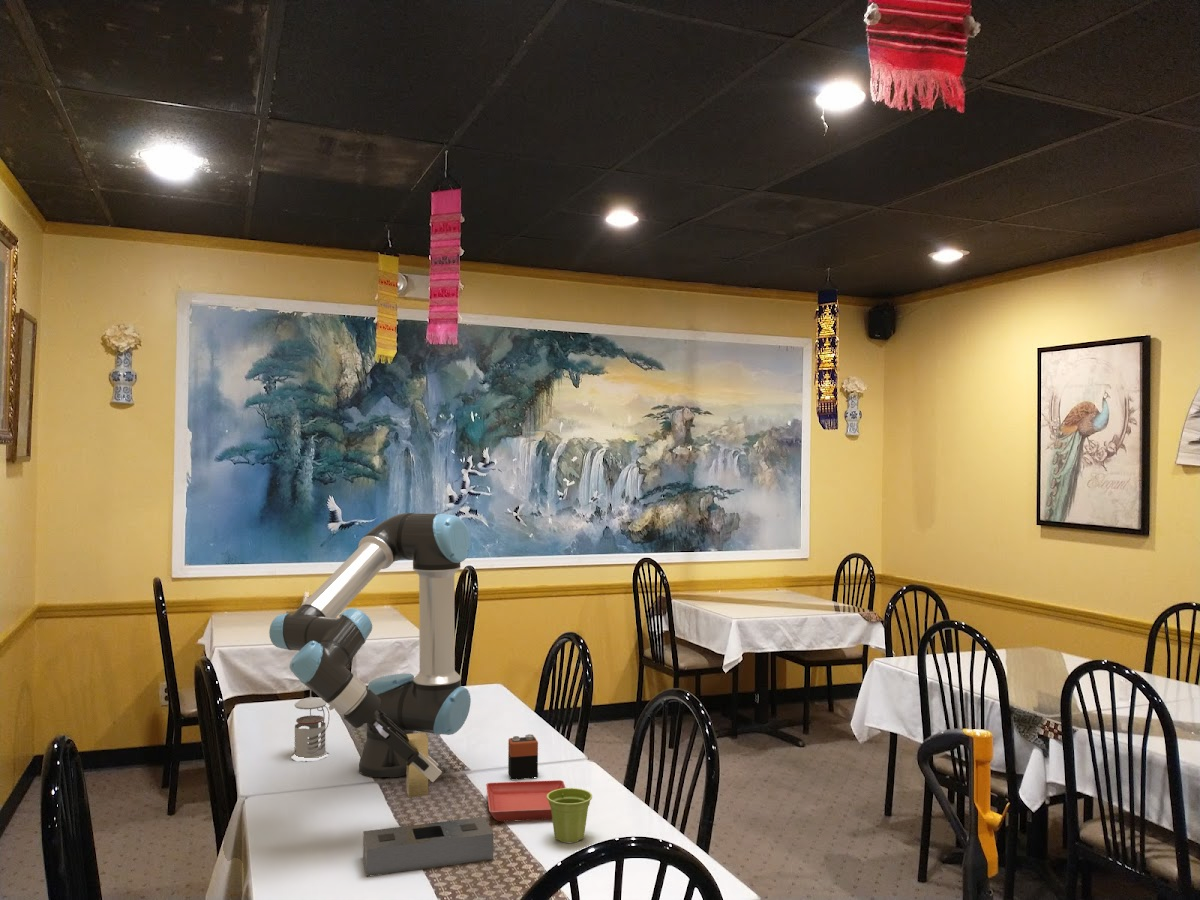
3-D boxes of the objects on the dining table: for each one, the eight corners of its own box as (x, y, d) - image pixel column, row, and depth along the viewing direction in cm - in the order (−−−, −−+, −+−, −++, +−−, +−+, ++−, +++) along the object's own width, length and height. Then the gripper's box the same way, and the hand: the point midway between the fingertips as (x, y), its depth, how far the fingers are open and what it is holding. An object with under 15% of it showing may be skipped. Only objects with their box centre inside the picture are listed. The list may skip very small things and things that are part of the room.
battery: (538, 778, 226) (538, 737, 226) (510, 780, 224) (510, 739, 224) (534, 772, 230) (535, 732, 230) (507, 774, 228) (508, 734, 229)
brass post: (408, 797, 191) (408, 739, 191) (406, 790, 195) (406, 734, 195) (428, 795, 193) (428, 737, 193) (425, 788, 196) (425, 732, 196)
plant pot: (545, 829, 194) (546, 788, 195) (590, 827, 195) (590, 786, 195) (547, 847, 185) (547, 804, 185) (593, 846, 186) (593, 803, 186)
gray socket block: (366, 876, 172) (367, 849, 172) (363, 856, 180) (363, 830, 180) (493, 859, 179) (493, 833, 179) (483, 841, 188) (484, 816, 188)
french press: (282, 759, 239) (283, 662, 240) (311, 746, 250) (312, 654, 251) (312, 763, 236) (313, 666, 236) (341, 750, 246) (342, 657, 247)
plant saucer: (562, 792, 217) (563, 778, 217) (573, 822, 199) (573, 807, 199) (485, 796, 214) (485, 782, 214) (489, 827, 196) (489, 811, 196)
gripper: (339, 705, 197) (417, 773, 202) (344, 728, 181) (428, 801, 186) (365, 678, 199) (441, 747, 204) (371, 698, 183) (454, 772, 188)
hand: (435, 773), depth 195 cm, fingers closed on brass post, 4 cm apart
